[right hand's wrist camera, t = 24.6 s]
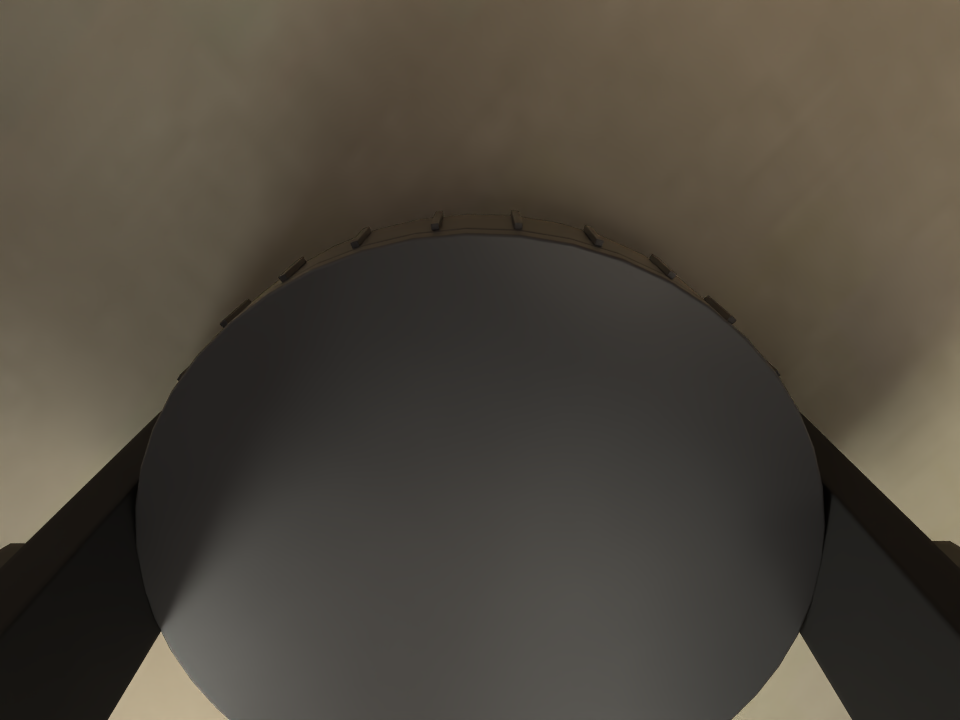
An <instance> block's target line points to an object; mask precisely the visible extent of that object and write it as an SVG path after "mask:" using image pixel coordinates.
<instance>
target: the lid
mask: <svg viewBox="0 0 960 720" xmlns="http://www.w3.org/2000/svg"><path fill="white" fill-rule="evenodd" d="M279 279H280V280H279V281H278V282H276V283H275V284H274V285H272V286H271V287H270V288H268V289H267V290H266V291H264V292H263V293H262V294H261V295H260V296H259V297H257V298H256V299H255V300H254V301H253V302H251V301H250V300H249V299H248V300H246V301H245V302H244V303H243V304H242V305H241V306H239V307H238V308H237V309H236V310H235V311H234V312H232V313H231V314H230V315H229V316H228V317H227V318H225V319H224V320H223V321H222V322H221V323H220V325H221V326H222V327H223V330H222V331H221V332H220V333H219V334H218V335H217V336H216V337H215V338H214V339H213V340H212V341H211V342H210V343H209V344H208V345H207V346H206V347H205V348H204V349H203V350H202V351H201V352H200V353H199V354H198V355H197V356H196V358H195V359H194V361H193V362H192V363H191V365H190V366H189V367H188V368H187V369H186V370H185V371H183V372H182V373H181V374H180V375H179V377H178V379H177V380H178V381H179V382H178V383H177V384H176V386H175V387H174V389H173V390H172V391H171V393H170V395H169V397H168V399H167V401H166V403H165V405H164V407H163V409H162V411H161V413H160V415H159V417H158V419H157V421H156V423H155V425H154V427H153V430H152V433H151V436H150V439H149V443H148V446H147V449H146V452H145V455H144V459H143V462H142V465H141V469H140V476H139V483H138V490H137V497H136V505H135V527H136V549H137V554H138V559H139V564H140V569H141V574H142V578H143V583H144V587H145V591H146V595H147V598H148V601H149V604H150V606H151V609H152V612H153V615H154V618H155V620H156V622H157V624H158V626H159V628H160V630H161V632H162V634H163V636H164V638H165V640H166V642H167V644H168V646H169V648H170V650H171V651H172V653H173V654H174V656H175V657H176V659H177V660H178V662H179V663H180V664H181V666H182V667H183V669H184V670H185V672H186V673H187V674H188V676H189V677H190V679H191V680H192V682H193V683H194V684H195V685H196V686H197V687H198V688H199V689H200V690H201V692H202V693H203V694H204V695H205V696H206V697H207V698H208V699H209V700H210V702H211V703H212V704H213V705H214V706H215V707H216V708H217V709H218V710H219V711H220V712H221V713H222V714H224V715H225V716H226V717H227V718H228V719H229V720H732V719H733V718H734V717H735V716H736V715H737V714H738V713H739V712H740V711H741V710H742V709H743V708H744V707H745V706H746V705H747V704H748V703H749V702H750V701H751V700H752V699H753V698H754V697H755V696H756V695H757V694H758V692H759V691H760V690H761V688H762V687H763V686H764V685H765V683H766V682H767V681H768V680H769V678H770V677H771V676H772V675H773V673H774V672H775V671H776V669H777V668H778V667H779V666H780V664H781V662H782V661H783V659H784V657H785V656H786V654H787V652H788V650H789V649H790V647H791V645H792V644H793V642H794V640H795V639H796V637H797V635H798V633H799V631H800V629H801V626H802V624H803V622H804V619H805V617H806V614H807V612H808V610H809V607H810V605H811V602H812V600H813V596H814V592H815V587H816V583H817V578H818V574H819V570H820V565H821V560H822V555H823V545H824V535H825V514H824V498H823V485H822V481H821V477H820V472H819V468H818V463H817V459H816V455H815V450H814V447H813V444H812V442H811V439H810V437H809V434H808V432H807V429H806V427H805V424H804V422H803V420H802V417H801V415H800V412H799V410H798V408H797V406H796V405H795V403H794V401H793V400H792V398H791V396H790V395H789V393H788V391H787V390H786V388H785V387H784V385H783V383H782V382H781V380H780V378H779V376H780V374H779V372H778V371H777V370H776V369H775V368H774V367H773V366H772V365H771V364H770V363H769V362H768V361H766V360H765V359H764V358H763V356H762V355H761V354H760V353H759V352H758V351H757V349H756V348H755V347H754V346H753V345H752V343H751V342H750V341H749V340H748V339H747V338H746V337H745V336H744V335H743V334H742V333H741V332H740V331H739V330H737V329H736V328H735V327H734V326H733V325H732V324H733V323H734V322H735V321H736V319H735V318H734V317H733V316H731V315H730V314H729V313H728V312H727V311H726V310H725V309H723V308H722V307H721V306H720V305H719V304H718V303H716V302H715V301H714V300H713V299H712V298H711V297H709V296H707V297H706V298H705V299H703V298H701V297H700V296H699V295H698V294H697V293H696V292H695V291H693V290H692V289H691V288H690V287H689V286H688V285H687V284H685V283H684V282H683V281H682V280H681V279H680V278H678V277H676V273H675V272H674V271H673V270H671V269H670V268H669V267H668V266H667V265H666V264H665V263H664V262H662V261H661V260H660V259H659V258H658V257H656V256H655V255H653V254H652V255H651V257H650V258H647V257H646V256H644V255H642V254H640V253H638V252H635V251H633V250H631V249H629V248H627V247H625V246H623V245H620V244H618V243H616V242H614V241H612V240H610V239H607V238H605V237H603V236H600V235H598V234H597V233H596V231H595V230H594V229H593V228H592V227H590V226H587V225H585V227H584V231H583V230H580V229H577V228H574V227H570V226H567V225H564V224H561V223H555V222H549V221H543V220H537V219H531V218H525V217H520V214H519V211H513V210H512V211H511V216H507V215H476V214H465V215H455V216H446V217H443V211H437V212H436V213H435V215H434V218H426V219H419V220H415V221H411V222H407V223H402V224H398V225H394V226H390V227H386V228H381V229H377V230H374V231H372V232H371V230H370V227H367V228H364V229H362V231H361V232H360V233H359V234H358V235H357V236H356V237H355V238H354V239H351V240H349V241H346V242H343V243H341V244H338V245H336V246H334V247H332V248H330V249H328V250H326V251H325V252H323V253H321V254H319V255H317V256H316V257H314V258H312V259H310V260H308V261H307V262H306V260H305V259H304V257H302V258H300V259H299V260H297V261H296V262H295V263H294V264H293V265H292V266H291V267H289V268H288V269H287V270H286V271H285V272H284V273H283V274H281V275H280V276H279Z"/></svg>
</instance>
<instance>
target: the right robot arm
mask: <svg viewBox="0 0 960 720" xmlns="http://www.w3.org/2000/svg"><path fill="white" fill-rule="evenodd" d="M160 413H161V412H160ZM160 413H159V414H158V415H157V416H156V417H155V418H154V419H152V420H151V421H150V422H149V423H148V424H147V425H146V426H145V427H144V428H143V429H142V430H141V431H140V432H139V433H138V434H137V435H136V436H135V437H134V438H133V439H132V440H131V441H130V442H129V443H128V444H127V445H126V446H125V447H124V448H123V449H122V450H121V451H120V452H119V453H118V454H117V455H116V456H115V457H114V458H113V459H112V460H110V461H109V462H108V463H107V464H106V465H105V466H104V467H103V468H102V469H101V470H100V471H99V472H98V473H97V474H96V475H95V476H94V477H93V478H92V479H91V480H90V481H89V482H88V483H87V484H86V485H85V486H84V487H83V488H82V489H81V490H80V491H79V492H78V493H77V494H76V495H75V496H74V497H73V498H72V499H71V500H70V501H69V502H67V503H66V504H65V505H64V506H63V507H62V508H61V509H60V510H59V511H58V512H57V513H56V514H55V515H54V516H53V517H52V518H51V519H50V520H49V521H48V522H47V523H46V524H45V525H44V526H43V527H42V528H41V529H40V530H39V531H38V532H37V533H36V534H35V535H34V536H33V537H32V538H31V539H30V540H29V541H28V542H27V543H10V544H9V545H7V546H5V547H4V548H2V549H0V720H108V718H109V717H110V715H111V713H112V712H113V710H114V708H115V707H116V705H117V703H118V702H119V700H120V698H121V697H122V695H123V693H124V692H125V690H126V688H127V687H128V685H129V683H130V682H131V680H132V678H133V677H134V675H135V673H136V672H137V670H138V668H139V667H140V665H141V663H142V662H143V660H144V658H145V657H146V655H147V653H148V652H149V650H150V648H151V647H152V645H153V643H154V642H155V640H156V638H157V637H158V635H159V633H160V632H161V630H160V628H159V626H158V624H157V622H156V620H155V618H154V615H153V612H152V609H151V606H150V604H149V601H148V598H147V595H146V591H145V587H144V583H143V578H142V574H141V569H140V564H139V559H138V554H137V549H136V527H135V505H136V497H137V490H138V483H139V476H140V469H141V465H142V462H143V459H144V455H145V452H146V449H147V446H148V443H149V439H150V436H151V433H152V430H153V427H154V425H155V423H156V421H157V419H158V417H159V415H160ZM800 415H801V417H802V420H803V422H804V424H805V427H806V429H807V432H808V434H809V437H810V439H811V442H812V444H813V447H814V450H815V455H816V459H817V463H818V468H819V472H820V477H821V481H822V485H823V498H824V514H825V535H824V545H823V555H822V560H821V565H820V570H819V574H818V578H817V583H816V587H815V592H814V596H813V600H812V602H811V605H810V607H809V610H808V612H807V614H806V617H805V619H804V622H803V624H802V626H801V629H800V631H799V632H800V634H801V635H802V637H803V639H804V640H805V642H806V644H807V645H808V647H809V649H810V650H811V652H812V654H813V655H814V657H815V659H816V660H817V662H818V664H819V665H820V667H821V669H822V670H823V672H824V674H825V675H826V677H827V679H828V680H829V682H830V684H831V685H832V687H833V689H834V690H835V692H836V694H837V695H838V697H839V699H840V700H841V702H842V704H843V705H844V707H845V709H846V710H847V712H848V714H849V715H850V717H851V719H852V720H960V547H959V546H957V545H956V544H954V543H952V542H951V541H931V540H930V539H929V538H928V537H927V536H926V535H925V534H924V533H923V532H922V531H921V530H920V529H919V528H918V527H917V526H916V525H915V524H914V523H913V522H912V521H911V520H910V519H909V518H908V517H907V516H906V515H905V514H904V513H903V512H902V511H901V510H900V509H899V508H898V507H897V506H896V505H894V504H893V503H892V502H891V501H890V500H889V499H888V498H887V497H886V496H885V495H884V494H883V493H882V492H881V491H880V490H879V489H878V488H877V487H876V486H875V485H874V484H873V483H872V482H871V481H870V480H869V479H868V478H867V477H866V476H865V475H864V474H863V473H862V472H861V471H860V470H859V469H858V468H857V467H856V466H855V465H854V464H852V463H851V462H850V461H849V460H848V459H847V458H846V457H845V456H844V455H843V454H842V453H841V452H840V451H839V450H838V449H837V448H836V447H835V446H834V445H833V444H832V443H831V442H830V441H829V440H828V439H827V438H826V437H825V436H824V435H823V434H822V433H821V432H820V431H819V430H818V429H817V428H816V427H815V426H814V425H813V424H812V423H810V422H809V421H808V420H807V419H806V418H805V417H804V416H803V415H802V414H801V413H800Z"/></svg>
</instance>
